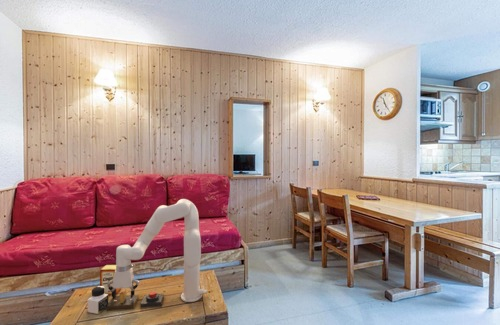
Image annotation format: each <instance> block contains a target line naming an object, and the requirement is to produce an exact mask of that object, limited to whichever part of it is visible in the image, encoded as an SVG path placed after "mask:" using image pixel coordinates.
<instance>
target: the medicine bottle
mask: <svg viewBox="0 0 500 325" xmlns="http://www.w3.org/2000/svg"><path fill="white" fill-rule="evenodd" d="M108 303H109V295H108V294H105V287H103V286H100V285H98V286H95V287H93V288H92V289H91V297H88V299H87V313H91V314H97V315H99V314H100V313H102V312H103V311H105V310H106V307H107V305H108Z"/></svg>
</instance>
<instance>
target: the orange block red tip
mask: <svg viewBox="0 0 500 325" xmlns="http://www.w3.org/2000/svg"><path fill="white" fill-rule="evenodd" d="M119 293H120V294H119V296H120V303H123V302H124V301H125V299H126V295H127V288H122V289H121V292H119Z"/></svg>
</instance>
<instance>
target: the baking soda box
mask: <svg viewBox="0 0 500 325" xmlns="http://www.w3.org/2000/svg"><path fill="white" fill-rule="evenodd" d="M115 270H116V264H106V265H104V266H102V267H101V268H100V269H99V286H103V287H105V294H108V296H112V292H111V291H110V290H109V289H108V287H107V283H109V282H111V281H113V279H114V273H115ZM111 286H112V287H113V284H111ZM120 291H122V288H120V289H116V295H118V293H120Z"/></svg>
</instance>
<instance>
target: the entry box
mask: <svg viewBox="0 0 500 325" xmlns="http://www.w3.org/2000/svg"><path fill="white" fill-rule="evenodd" d="M164 297H165V294H164V293H158V292H156V296H155V297H152V298H151V297H149V293H148V294H144V295H143V298H142V300H141V302H140V308H153V307H162V304H163V301H164Z"/></svg>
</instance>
